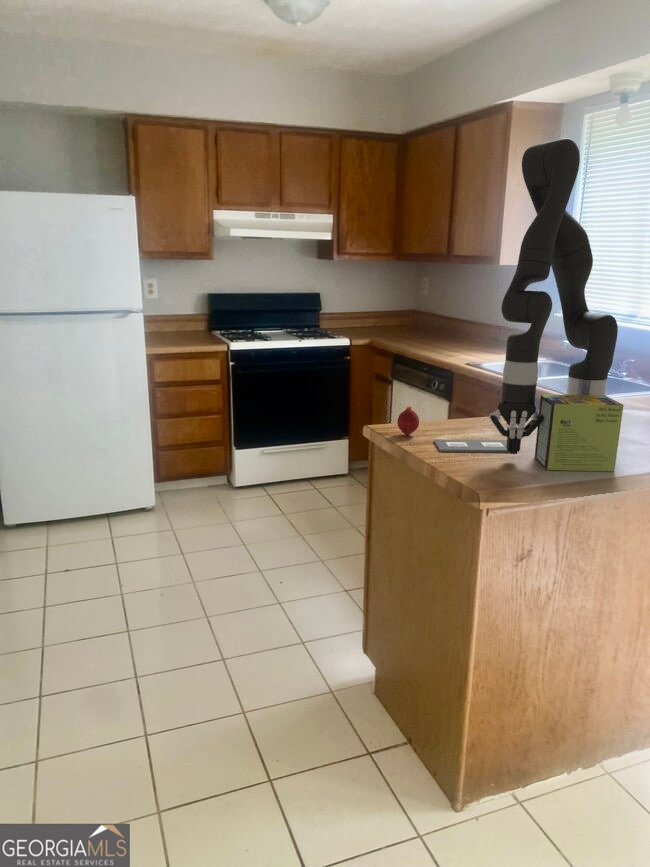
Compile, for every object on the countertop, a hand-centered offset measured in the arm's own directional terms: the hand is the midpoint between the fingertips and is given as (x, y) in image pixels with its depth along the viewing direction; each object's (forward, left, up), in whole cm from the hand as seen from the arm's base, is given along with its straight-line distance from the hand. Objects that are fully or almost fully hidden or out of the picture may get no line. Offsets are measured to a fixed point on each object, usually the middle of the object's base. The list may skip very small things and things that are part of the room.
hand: (512, 453), depth 150 cm
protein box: (-14, +2, -2) cm, 14 cm away
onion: (+22, -22, -2) cm, 31 cm away
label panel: (+6, -12, -2) cm, 13 cm away
